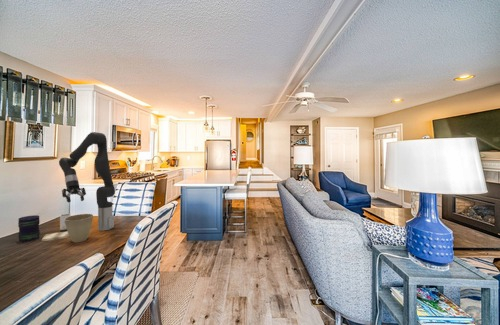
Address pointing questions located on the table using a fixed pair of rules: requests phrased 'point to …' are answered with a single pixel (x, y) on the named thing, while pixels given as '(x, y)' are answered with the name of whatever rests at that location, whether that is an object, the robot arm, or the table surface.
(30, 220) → the storage jar
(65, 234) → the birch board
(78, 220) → the plant pot
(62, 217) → the aluminium block
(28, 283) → the table surface
